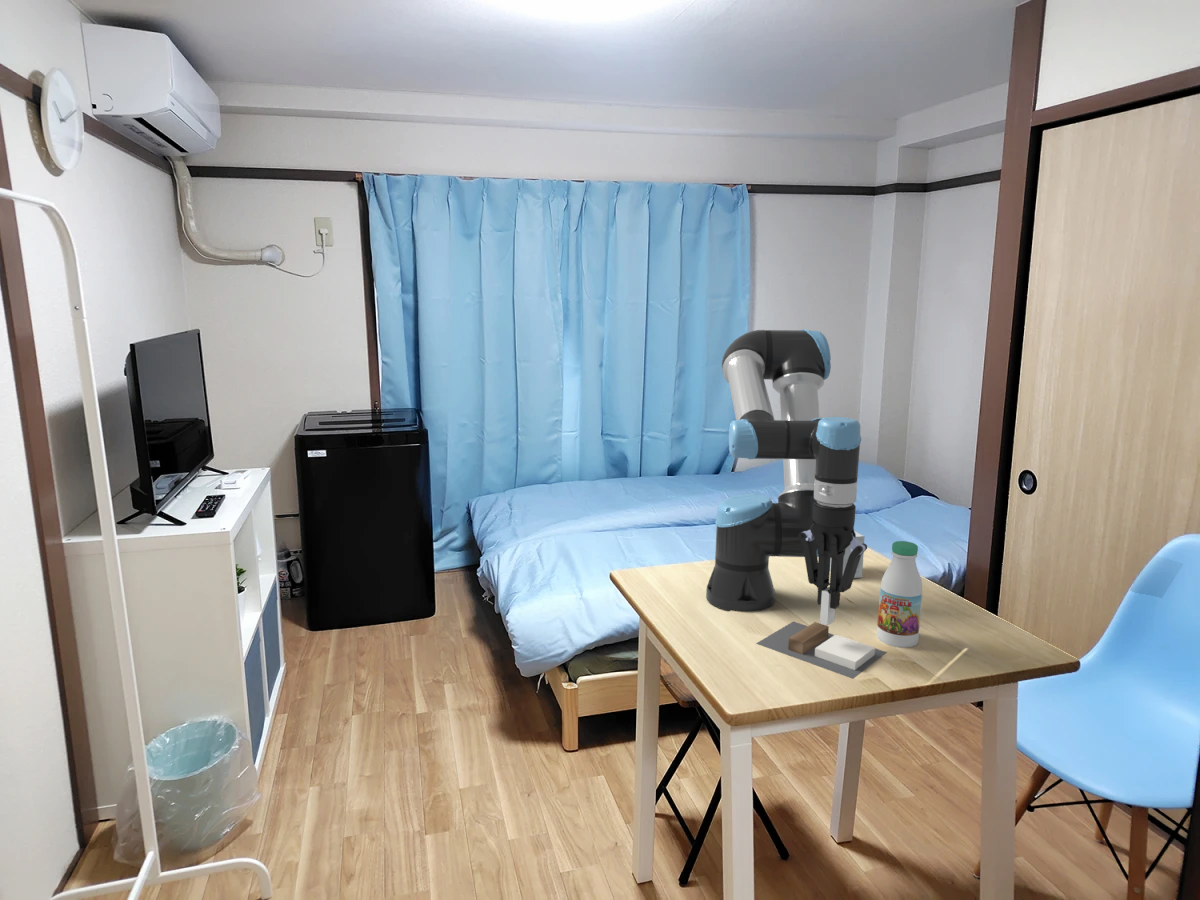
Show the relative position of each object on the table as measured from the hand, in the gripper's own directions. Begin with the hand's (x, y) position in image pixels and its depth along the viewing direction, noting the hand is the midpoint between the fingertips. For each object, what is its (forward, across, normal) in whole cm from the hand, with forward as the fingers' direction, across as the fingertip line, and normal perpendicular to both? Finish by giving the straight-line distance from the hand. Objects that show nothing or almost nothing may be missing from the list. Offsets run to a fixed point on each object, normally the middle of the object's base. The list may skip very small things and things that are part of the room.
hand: (827, 622), depth 148 cm
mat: (+6, -1, 0) cm, 6 cm away
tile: (+5, 0, 0) cm, 5 cm away
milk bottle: (+6, +8, +14) cm, 18 cm away
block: (+6, -4, 0) cm, 7 cm away
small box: (+6, -18, +41) cm, 45 cm away
